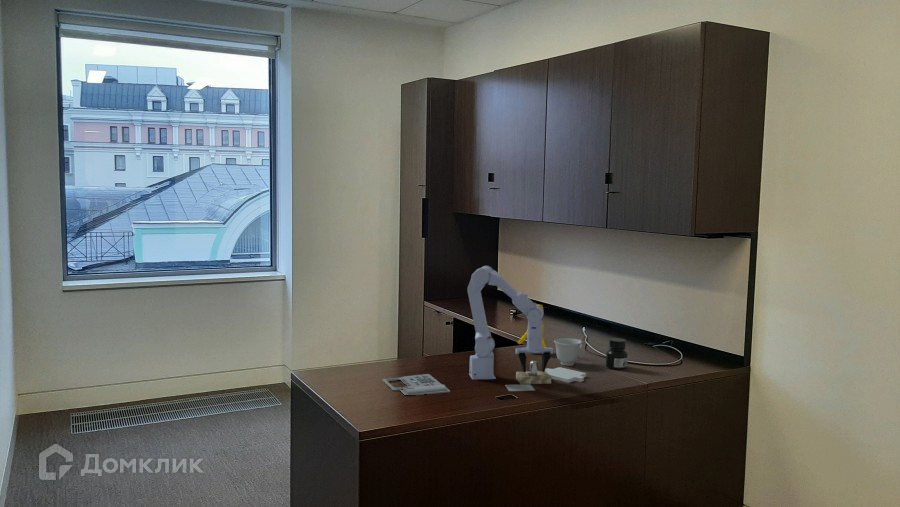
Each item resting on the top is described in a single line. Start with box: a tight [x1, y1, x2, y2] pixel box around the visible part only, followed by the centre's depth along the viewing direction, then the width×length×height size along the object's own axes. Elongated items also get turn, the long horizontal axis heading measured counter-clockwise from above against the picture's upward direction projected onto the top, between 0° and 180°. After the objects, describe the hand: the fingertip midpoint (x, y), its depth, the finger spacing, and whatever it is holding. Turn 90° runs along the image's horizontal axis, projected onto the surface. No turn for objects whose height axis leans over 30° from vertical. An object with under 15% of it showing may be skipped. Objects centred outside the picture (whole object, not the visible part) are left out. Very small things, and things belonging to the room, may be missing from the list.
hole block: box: [515, 370, 552, 385], centre depth 276 cm, size 12×8×3 cm, turn 98°
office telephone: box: [381, 373, 451, 396], centre depth 268 cm, size 23×3×20 cm
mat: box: [504, 384, 536, 392], centre depth 267 cm, size 10×8×1 cm
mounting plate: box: [545, 366, 587, 384], centre depth 284 cm, size 18×13×2 cm
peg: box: [529, 360, 539, 376], centre depth 276 cm, size 3×3×8 cm
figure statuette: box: [517, 304, 548, 348], centre depth 323 cm, size 18×8×22 cm, turn 42°
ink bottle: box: [605, 337, 629, 371], centre depth 299 cm, size 10×9×12 cm
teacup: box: [553, 337, 584, 366], centre depth 305 cm, size 12×15×10 cm
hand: (533, 371), depth 276 cm, fingers open, 7 cm apart
